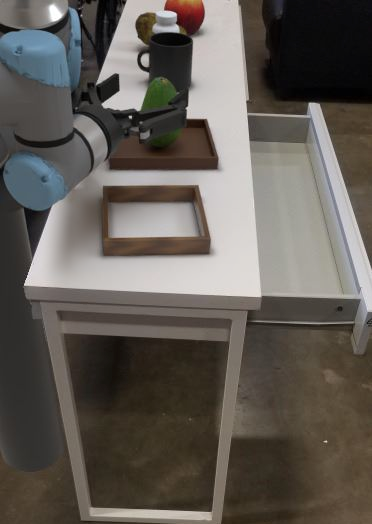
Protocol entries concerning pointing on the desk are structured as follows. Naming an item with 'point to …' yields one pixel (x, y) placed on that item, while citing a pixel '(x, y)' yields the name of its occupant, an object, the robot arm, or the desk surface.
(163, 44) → the mug
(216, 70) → the desk surface
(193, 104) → the desk surface
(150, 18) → the potato
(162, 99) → the avocado
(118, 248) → the wooden frame
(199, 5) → the fruit
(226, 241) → the desk surface
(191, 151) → the tray
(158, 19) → the pill bottle
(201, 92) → the desk surface
